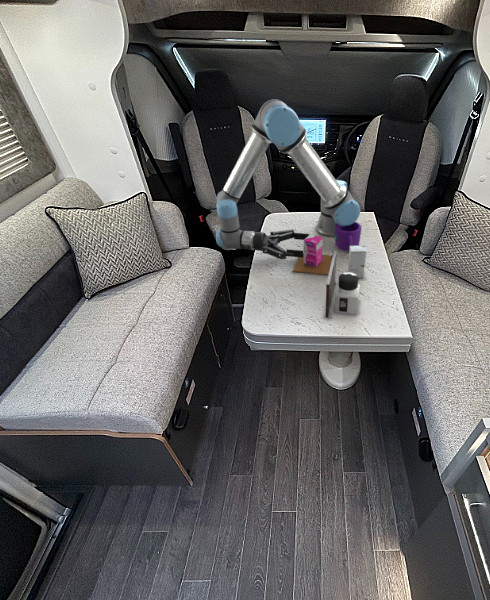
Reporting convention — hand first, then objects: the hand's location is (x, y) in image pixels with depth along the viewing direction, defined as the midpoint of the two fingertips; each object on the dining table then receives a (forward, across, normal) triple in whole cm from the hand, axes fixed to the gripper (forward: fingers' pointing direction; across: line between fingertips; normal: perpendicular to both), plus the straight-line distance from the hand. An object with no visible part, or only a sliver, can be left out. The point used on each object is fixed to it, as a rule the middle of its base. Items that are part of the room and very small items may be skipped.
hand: (306, 245), depth 136 cm
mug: (+16, -14, -9) cm, 23 cm away
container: (+19, +25, -9) cm, 33 cm away
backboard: (+13, +22, -9) cm, 27 cm away
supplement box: (+3, 0, -8) cm, 9 cm away
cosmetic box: (+21, +5, -9) cm, 23 cm away
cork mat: (+3, 0, -9) cm, 9 cm away
